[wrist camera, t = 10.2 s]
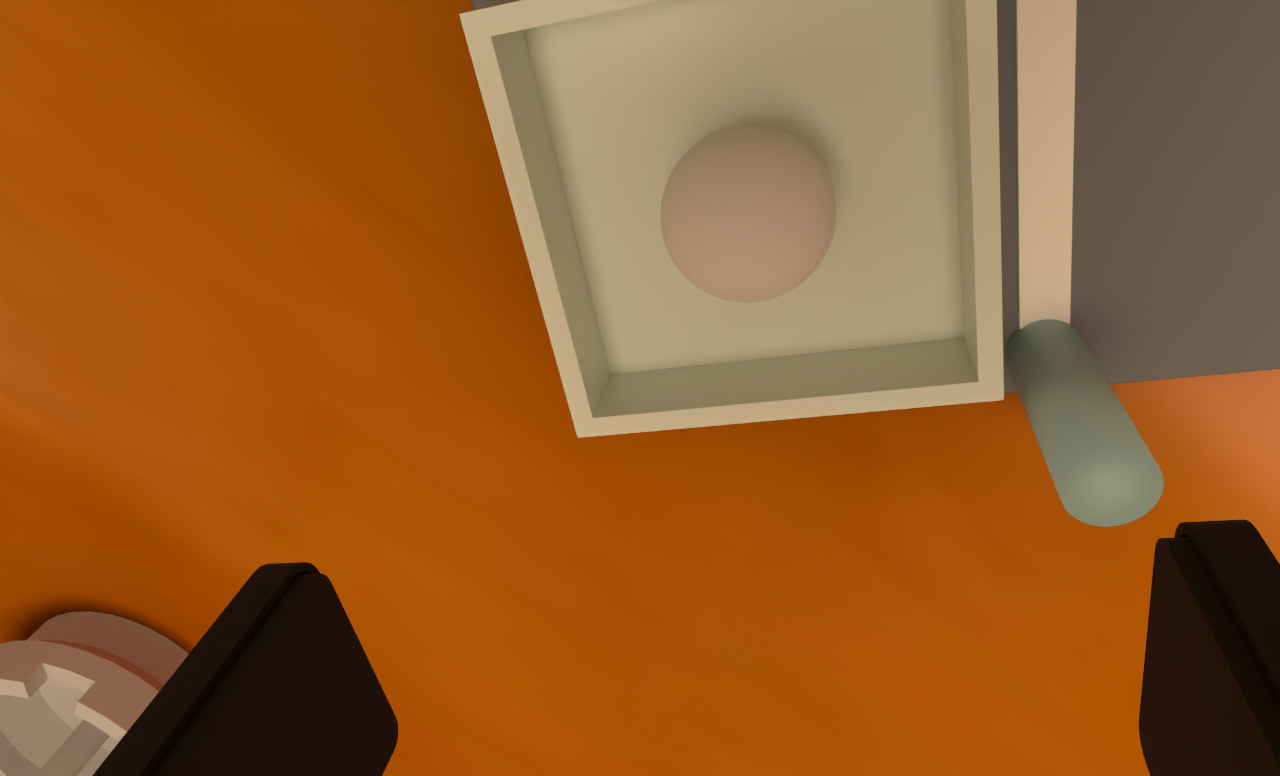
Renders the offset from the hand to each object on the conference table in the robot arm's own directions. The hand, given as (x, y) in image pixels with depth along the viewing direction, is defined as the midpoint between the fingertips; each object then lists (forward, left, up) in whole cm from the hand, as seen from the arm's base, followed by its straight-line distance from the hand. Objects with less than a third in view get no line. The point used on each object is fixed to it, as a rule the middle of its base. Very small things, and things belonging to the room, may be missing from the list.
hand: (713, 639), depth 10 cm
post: (+8, +8, -21) cm, 23 cm away
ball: (+1, -1, -20) cm, 20 cm away
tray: (+1, -1, -20) cm, 20 cm away
